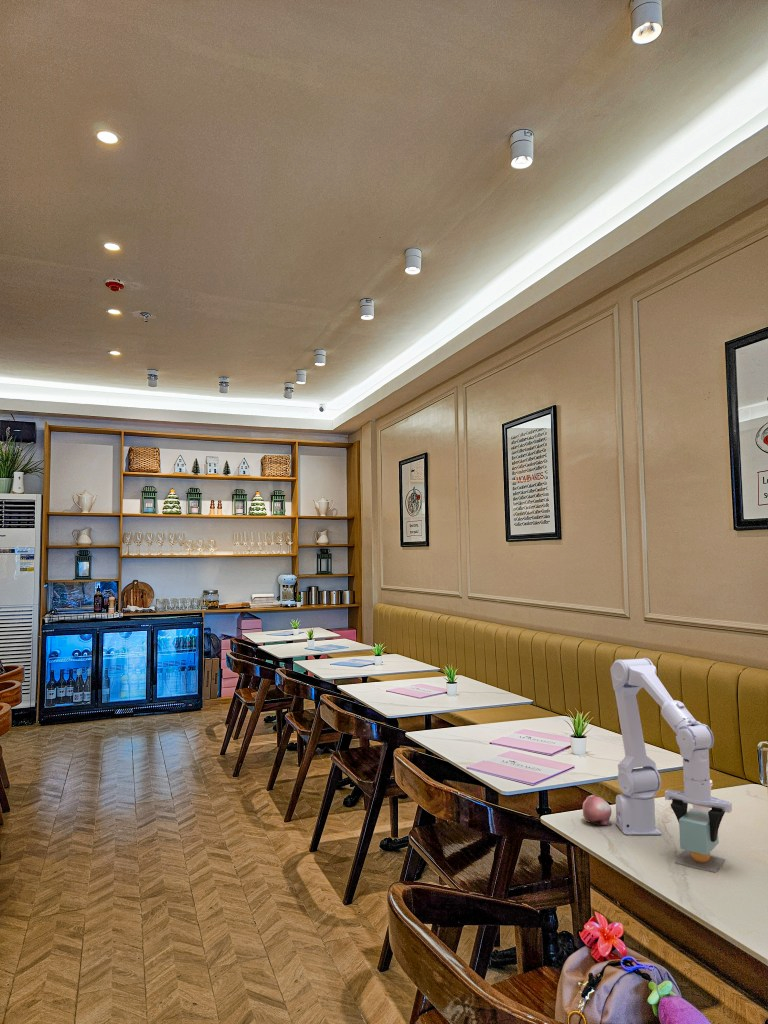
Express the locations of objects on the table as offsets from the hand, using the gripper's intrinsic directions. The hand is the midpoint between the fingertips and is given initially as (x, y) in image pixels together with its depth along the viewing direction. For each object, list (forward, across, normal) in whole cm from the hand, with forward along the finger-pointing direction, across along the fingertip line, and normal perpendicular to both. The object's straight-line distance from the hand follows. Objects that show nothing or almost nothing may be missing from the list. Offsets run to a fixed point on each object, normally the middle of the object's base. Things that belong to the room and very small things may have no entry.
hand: (699, 836), depth 164 cm
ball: (+3, 0, 0) cm, 3 cm away
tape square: (+6, 0, 0) cm, 6 cm away
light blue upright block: (+2, 0, 0) cm, 2 cm away
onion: (+6, +29, -8) cm, 30 cm away
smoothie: (+6, +9, -31) cm, 33 cm away
